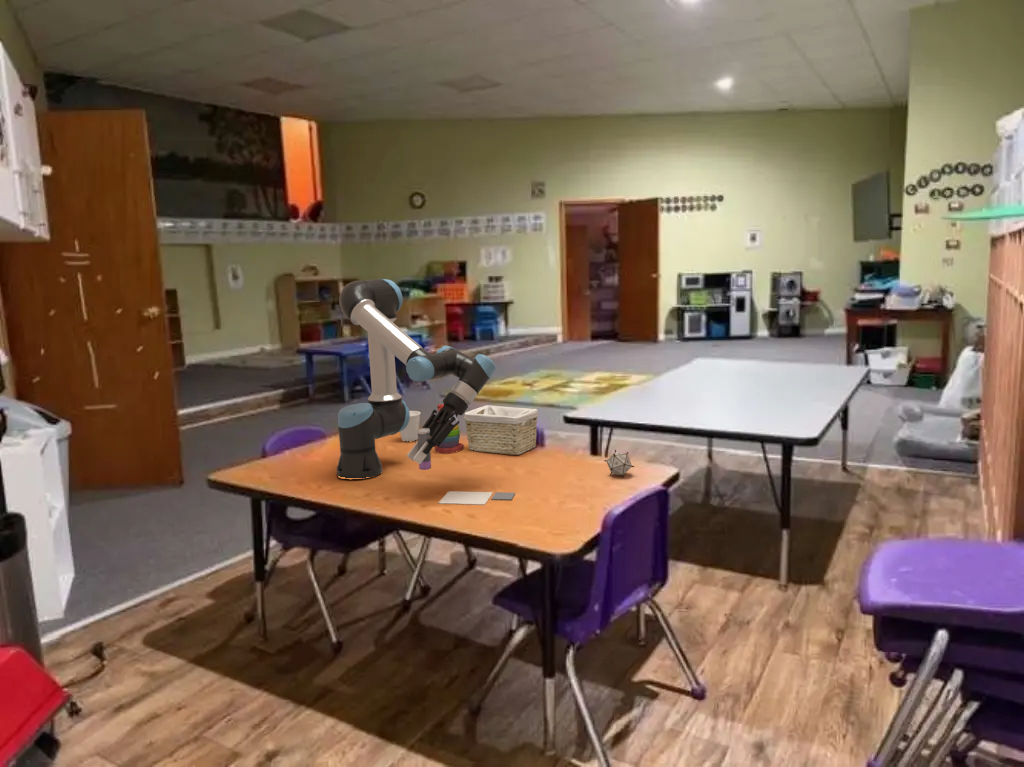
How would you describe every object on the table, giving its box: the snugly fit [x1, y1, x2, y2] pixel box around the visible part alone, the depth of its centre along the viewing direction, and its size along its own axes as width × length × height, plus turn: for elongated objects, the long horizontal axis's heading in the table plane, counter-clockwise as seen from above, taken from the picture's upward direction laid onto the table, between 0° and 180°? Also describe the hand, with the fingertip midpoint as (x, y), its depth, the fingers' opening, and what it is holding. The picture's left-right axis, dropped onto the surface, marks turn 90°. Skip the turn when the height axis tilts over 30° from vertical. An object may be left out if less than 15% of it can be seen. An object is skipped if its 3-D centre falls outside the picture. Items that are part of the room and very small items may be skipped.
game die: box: [603, 449, 635, 478], centre depth 240 cm, size 9×8×10 cm
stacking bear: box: [434, 403, 465, 454], centre depth 279 cm, size 11×10×18 cm
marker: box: [417, 427, 432, 471], centre depth 226 cm, size 4×4×12 cm
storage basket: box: [463, 404, 539, 456], centre depth 279 cm, size 24×16×15 cm
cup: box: [399, 410, 422, 443], centre depth 297 cm, size 10×10×11 cm
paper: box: [438, 490, 494, 506], centre depth 224 cm, size 14×11×1 cm
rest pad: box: [491, 491, 516, 501], centre depth 224 cm, size 6×6×1 cm
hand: (413, 459), depth 225 cm, fingers closed on marker, 3 cm apart
